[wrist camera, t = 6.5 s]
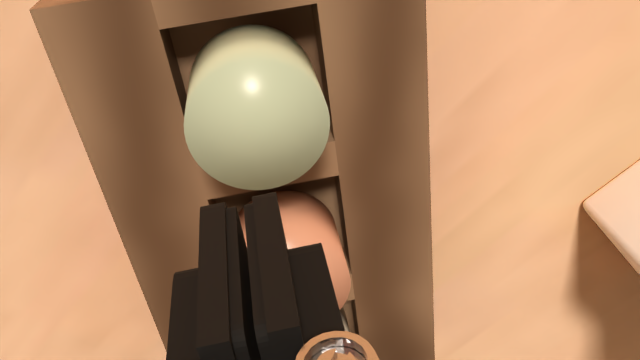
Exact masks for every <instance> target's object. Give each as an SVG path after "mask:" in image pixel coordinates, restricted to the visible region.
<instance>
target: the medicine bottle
mask: <svg viewBox="0 0 640 360" xmlns="http://www.w3.org/2000/svg"><path fill="white" fill-rule="evenodd" d="M583 207H584V210H585V211H586V212H587V213H588V215H589V216H590V217H591V218H592V219H593V221H594V222H595V223H596V224H597V225H598V226H599V228H600V229H601V230H602V231H603V232H604V234H605V235H606V236H607V237H608V238H609V240H610V241H611V242H612V243H613V244H614V246H615V247H616V248H617V249H618V250H619V251H620V253H621V254H622V255H623V256H624V257H625V259H626V260H627V261H628V262H629V263H630V265H631V266H632V267H633V268H634V269H635V271H636V272H637V273H638V274H639V275H640V160H639V161H637V162H636V163H635V164H633V165H632V166H631V167H629V168H628V169H626V170H625V171H624V172H622V173H621V174H620V175H618V176H617V177H616V178H614V179H613V180H612V181H610V182H609V183H607V184H606V185H605V186H603V187H602V188H601V189H599V190H598V191H597V192H595V193H594V194H593V195H591V196H590V197H589V198H587V199H586V200H585V201H584V202H583Z"/></svg>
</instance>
